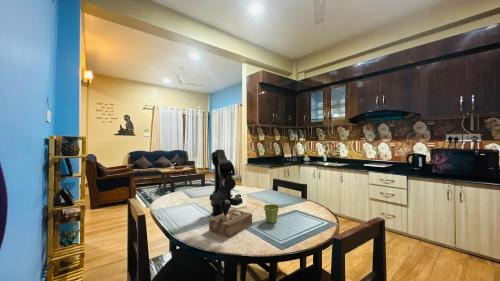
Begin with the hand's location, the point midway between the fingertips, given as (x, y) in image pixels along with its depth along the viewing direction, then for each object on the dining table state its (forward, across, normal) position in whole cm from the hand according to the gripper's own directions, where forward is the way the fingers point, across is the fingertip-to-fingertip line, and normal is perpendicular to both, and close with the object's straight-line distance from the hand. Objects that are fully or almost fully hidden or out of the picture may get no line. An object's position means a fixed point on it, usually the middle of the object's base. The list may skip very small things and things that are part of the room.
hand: (225, 215), depth 108 cm
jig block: (+8, 0, +5) cm, 10 cm away
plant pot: (+8, +14, +25) cm, 30 cm away
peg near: (+6, 0, 0) cm, 6 cm away
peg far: (+8, 0, +10) cm, 13 cm away
